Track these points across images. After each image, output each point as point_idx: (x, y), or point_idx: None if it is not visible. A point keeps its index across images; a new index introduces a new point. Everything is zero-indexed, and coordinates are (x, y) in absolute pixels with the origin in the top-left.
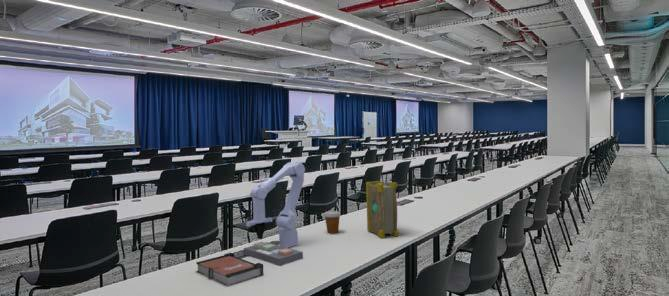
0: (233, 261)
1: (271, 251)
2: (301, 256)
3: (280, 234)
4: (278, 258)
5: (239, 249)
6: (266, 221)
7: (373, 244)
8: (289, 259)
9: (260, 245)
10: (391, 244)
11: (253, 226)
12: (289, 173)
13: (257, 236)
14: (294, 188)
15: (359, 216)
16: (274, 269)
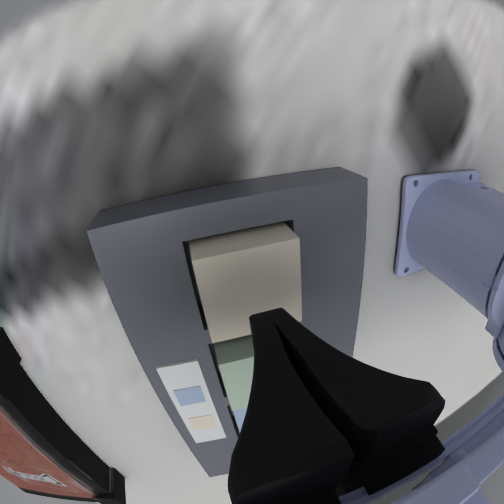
0: (20, 450)
1: (240, 410)
2: None
3: (465, 267)
4: (209, 474)
5: (134, 34)
6: (466, 444)
7: (492, 362)
8: None
9: (226, 336)
10: (493, 374)
11: (234, 466)
12: None
13: (252, 330)
14: None
15: None
16: (172, 467)
